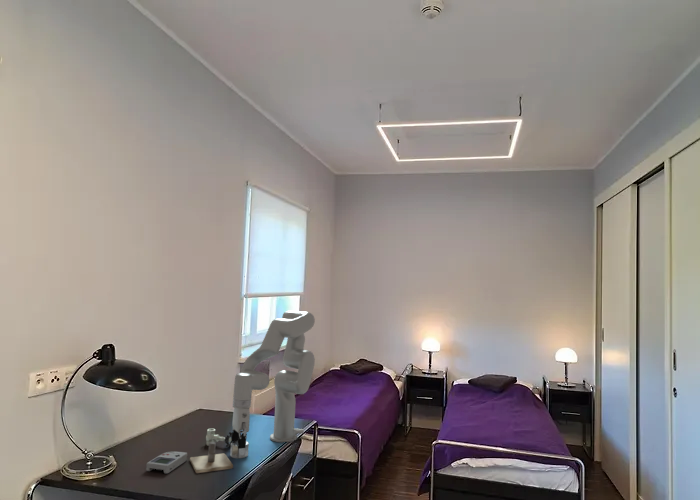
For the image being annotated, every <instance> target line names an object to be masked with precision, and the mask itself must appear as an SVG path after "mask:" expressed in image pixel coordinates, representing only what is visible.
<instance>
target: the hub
mask: <svg viewBox="0 0 700 500" xmlns="http://www.w3.org/2000/svg"><path fill="white" fill-rule="evenodd" d="M249 443H250V442H249V441H247V440H246V447H245V448H241V449H238V441H233V442H232V443H231V447H230V453H229V456H230V457H231V458H232V459H243V458H244V459H245V458H246V457H248V456H249V447H250V446H249V445H250V444H249Z"/></svg>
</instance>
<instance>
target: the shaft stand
mask: <svg viewBox="0 0 700 500" xmlns="http://www.w3.org/2000/svg"><path fill="white" fill-rule="evenodd" d="M216 444H217V442H215V441H214V442H211V443H209V446H208V453H207V455H199V456H191V457H189V462H190V464H191V466H192V468H193V470H194V471H195V474H200V473H201V474H202V473H208V472H214V471H215V472H216V471H222V470H230V469H233V468H234V464H233V463H232V461H231V460H230V459H229V458H228V456H227V454H225V453H216V446H217V445H216Z"/></svg>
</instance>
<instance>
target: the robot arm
mask: <svg viewBox="0 0 700 500" xmlns="http://www.w3.org/2000/svg"><path fill="white" fill-rule="evenodd" d="M315 320H316V318H315V316H314V314H313V313H311V312H309V311H299V310H287V311H285V312H283V314H282V317H281V318H275V319H272V321H271V322H270V325H269V327H268V329H267V331H266V334H265V336H264V338H263V340H262V342H261V344H260V346H259V348H257V349H255V351H253V352H252V353H251V354H250V355H249V356H248V357H247V358H246V360H244V362H243V364H242V367H241V369H240V372H239V373H236V375H234V384H233V385H234V387H233V397H232V398H233V399H232V408H233V413H232V423H231V425H232V430H231V431H232V442H233V441H238V449H241V448H245V447H246V441H247V435H248V433H249V431H250V417H251V416H250V414H251V413H250V408H251V407H252V406H251V405H252V404H251V403H252V393H253V391H254V390H255V391H256V390H257V391H262V390H264V389H266V388H267V387H268V386H269V385H270V381H271V380H270V376H269V375H268V374H267V373H266V372H262V371H258V370H255V369H256V367H258V365H259V364H261V363H263V361H265V360H268V359H271V358H274V357H276V356H277V355H278V354H279V353H280V352H279V351H280V349H281V347H282V345H283V342H284V340H285V339H287V340H286V345H285V348H284V353H283V358H282V364H283V366H285V367H286V368H290V369H294V370H297V371H292V370H287V369H286V370H285V369H282V370H280V371H278V372H277V373H276V374H275V376H274V390H275V393H274V394H275V399H274V401H275V402H274V405H275V406H274V419H273V420H274V421H273V433H271V434H270V435H269V439H270V441H272V442H275V443H283V442H287V443H292V442H295V441H297V439H298V436H297V435H299V434H304V432H305V430H304V429H303V428H301V429H300V428H298V427H297V428H295V420H296V419H295V418H296V417H295V416H296V401H297V400H296V396H295V394H296V395H303V394H306V393H307V392H308V391H309V388H310V385H311V381H312V377H313V372H314V367H315V360H316V357H315V355H314V353H313V352H312V350H308V349H304V348H305V344H306V343H305V342H306V336H305V333H307V332H308V331H310V330H311V329H312V328H313V327H314V325H315ZM294 440H295V441H294ZM283 444H284V443H283Z"/></svg>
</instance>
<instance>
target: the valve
mask: <svg viewBox="0 0 700 500" xmlns="http://www.w3.org/2000/svg"><path fill="white" fill-rule="evenodd" d="M232 432H233V431H232ZM232 432H228V434H226V437H225V436H221V435H220V434H216V429H215V428H208V429H207V431H206V436H205V440H206V446H208V447H209V443H211V442H215V443H218V442H219V441H220V442H225V444H226V445H225V447H226V448H230V449H231V443H232Z"/></svg>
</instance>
